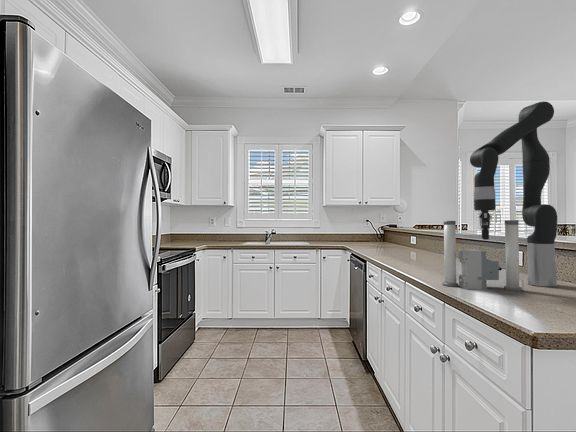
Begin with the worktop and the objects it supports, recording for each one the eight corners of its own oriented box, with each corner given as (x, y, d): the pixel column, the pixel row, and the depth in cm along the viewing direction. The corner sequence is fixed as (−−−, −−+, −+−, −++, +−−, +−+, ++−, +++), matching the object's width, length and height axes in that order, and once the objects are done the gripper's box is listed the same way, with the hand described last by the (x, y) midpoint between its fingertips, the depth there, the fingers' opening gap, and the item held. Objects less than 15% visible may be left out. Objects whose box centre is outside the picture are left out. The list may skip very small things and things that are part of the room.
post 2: (521, 288, 137) (519, 220, 137) (523, 291, 131) (521, 220, 132) (503, 287, 139) (501, 220, 140) (504, 290, 134) (503, 220, 134)
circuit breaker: (503, 289, 135) (503, 251, 135) (464, 288, 138) (463, 251, 138) (496, 286, 143) (495, 249, 143) (458, 285, 145) (458, 249, 146)
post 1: (458, 284, 147) (457, 220, 147) (458, 287, 141) (457, 220, 142) (443, 283, 150) (442, 220, 150) (442, 285, 144) (441, 220, 145)
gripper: (496, 197, 132) (497, 240, 132) (494, 199, 144) (495, 238, 144) (474, 198, 135) (474, 239, 135) (473, 199, 148) (474, 238, 148)
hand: (485, 238), depth 140 cm, fingers open, 8 cm apart
